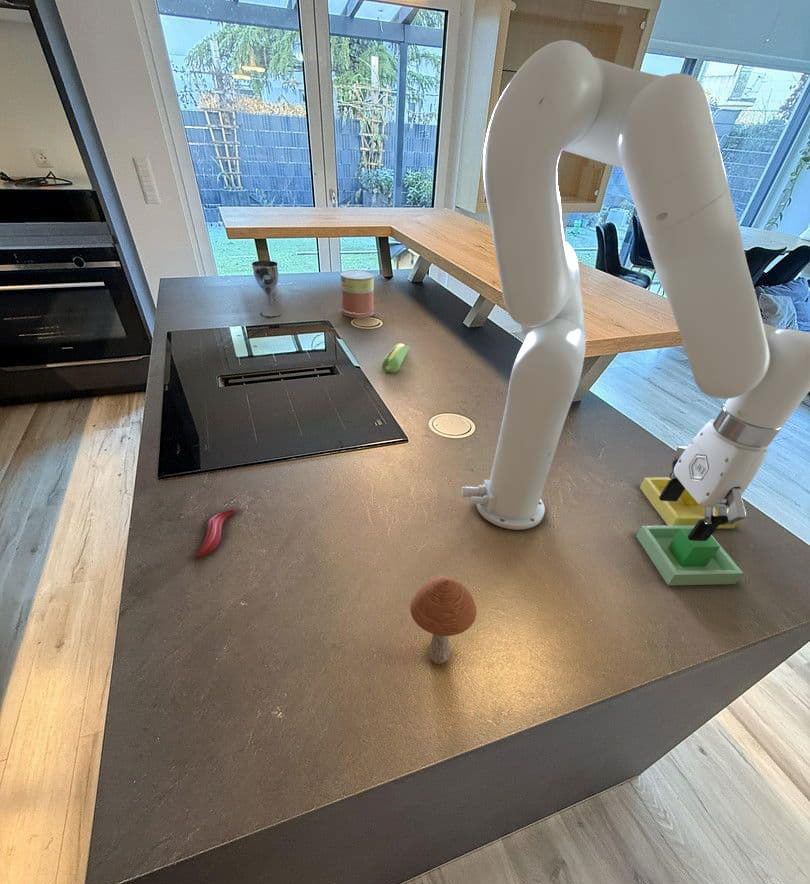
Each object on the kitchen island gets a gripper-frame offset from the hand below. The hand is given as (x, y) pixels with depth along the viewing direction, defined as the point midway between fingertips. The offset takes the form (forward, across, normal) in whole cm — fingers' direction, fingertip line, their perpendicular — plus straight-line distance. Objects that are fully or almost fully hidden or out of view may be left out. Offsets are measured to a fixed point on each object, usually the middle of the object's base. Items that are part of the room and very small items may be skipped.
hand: (681, 518), depth 76 cm
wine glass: (+13, -116, -83) cm, 143 cm away
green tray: (+7, +3, +2) cm, 8 cm away
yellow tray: (+7, -11, +10) cm, 17 cm away
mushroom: (+8, +20, -42) cm, 48 cm away
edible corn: (+10, -77, -42) cm, 88 cm away
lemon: (+6, -11, +10) cm, 17 cm away
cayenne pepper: (+10, -4, -77) cm, 77 cm away
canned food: (+12, -120, -54) cm, 132 cm away
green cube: (+6, +3, +3) cm, 7 cm away
